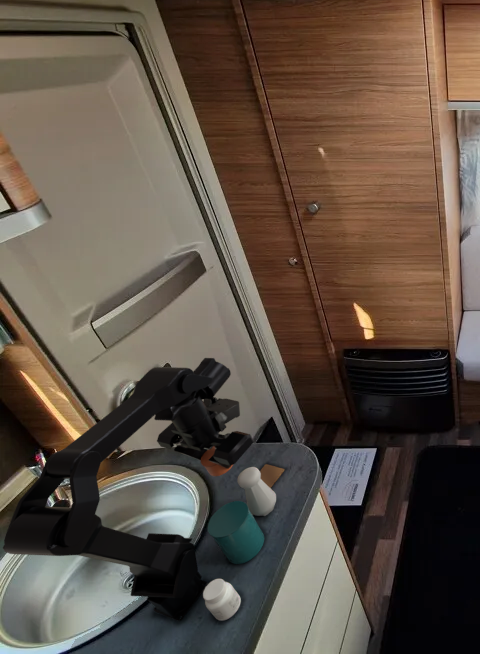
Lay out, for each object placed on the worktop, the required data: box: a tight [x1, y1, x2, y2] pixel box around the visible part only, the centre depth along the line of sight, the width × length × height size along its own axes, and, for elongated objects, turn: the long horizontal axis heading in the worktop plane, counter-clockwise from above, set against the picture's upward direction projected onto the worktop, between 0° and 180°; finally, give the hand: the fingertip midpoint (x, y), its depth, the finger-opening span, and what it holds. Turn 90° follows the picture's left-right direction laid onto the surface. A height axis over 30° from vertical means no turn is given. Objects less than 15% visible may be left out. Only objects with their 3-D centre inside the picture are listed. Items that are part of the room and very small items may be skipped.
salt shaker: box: [236, 466, 277, 517], centre depth 93 cm, size 6×6×13 cm
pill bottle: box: [202, 578, 242, 622], centre depth 78 cm, size 4×4×8 cm
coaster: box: [259, 463, 285, 489], centre depth 102 cm, size 6×6×1 cm
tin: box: [207, 500, 265, 565], centre depth 86 cm, size 7×7×11 cm
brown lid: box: [200, 446, 234, 477], centre depth 90 cm, size 5×5×4 cm
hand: (220, 464), depth 91 cm, fingers closed on brown lid, 5 cm apart
